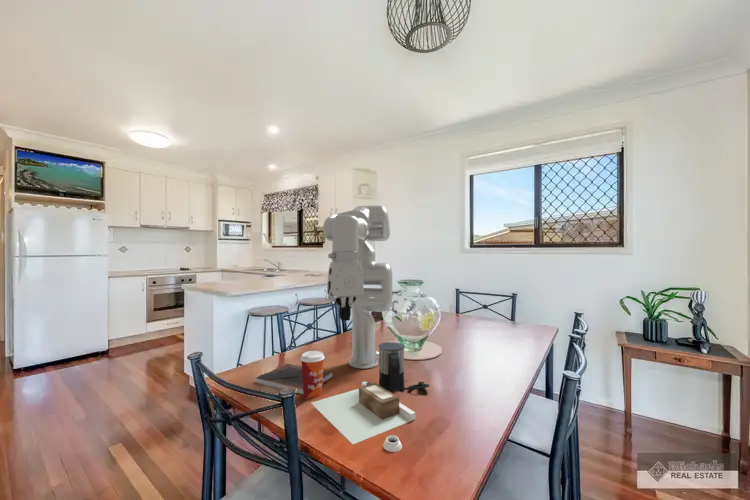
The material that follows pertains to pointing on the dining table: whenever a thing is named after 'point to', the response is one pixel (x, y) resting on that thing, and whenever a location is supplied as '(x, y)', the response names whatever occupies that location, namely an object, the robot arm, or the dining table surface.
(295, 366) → the picture frame
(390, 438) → the white flanged bushing
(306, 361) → the paper cup
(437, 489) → the dining table surface
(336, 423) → the wall board
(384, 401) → the brown rectangular box
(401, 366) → the milk frother
